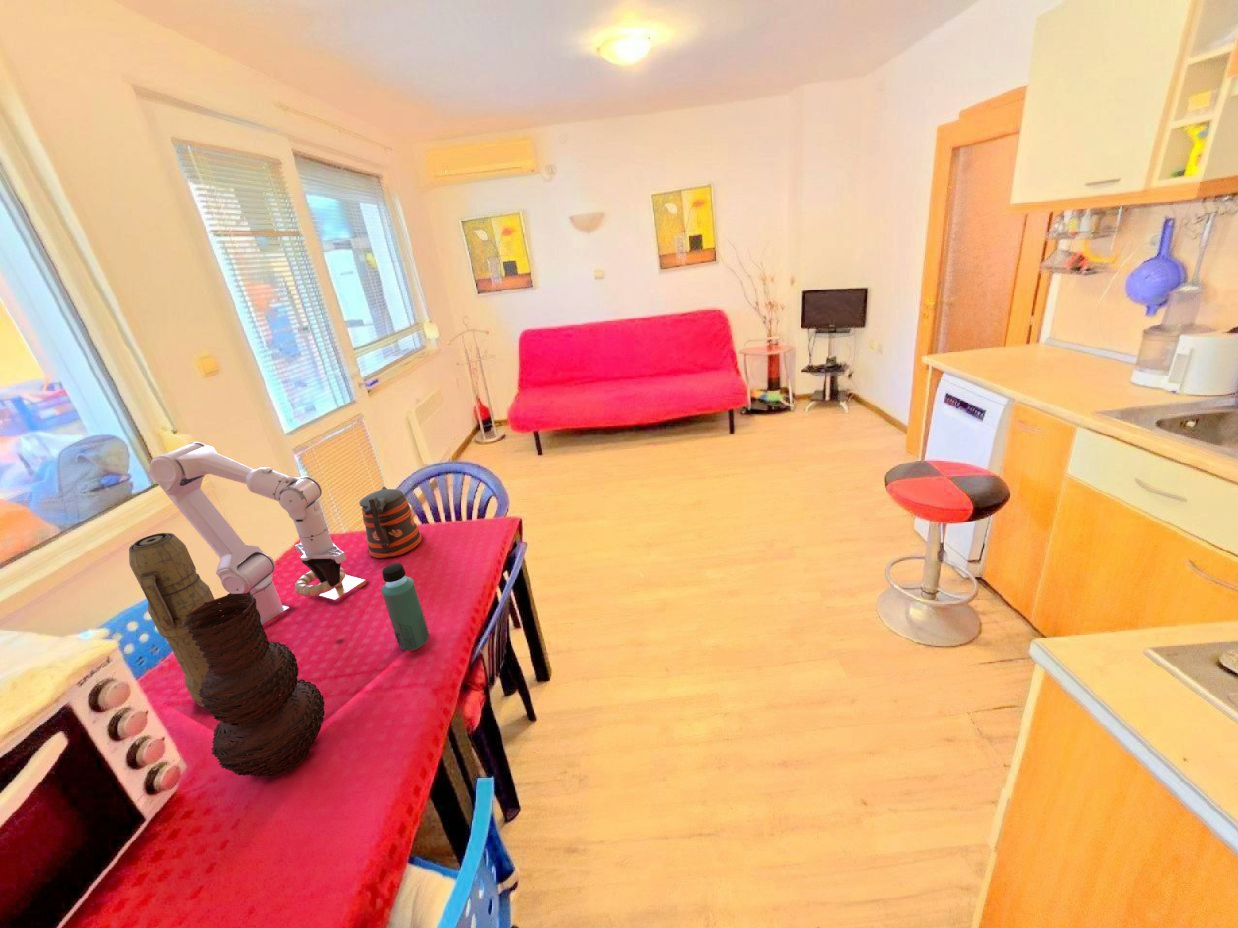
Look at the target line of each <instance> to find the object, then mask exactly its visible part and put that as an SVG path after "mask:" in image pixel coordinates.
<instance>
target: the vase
mask: <svg viewBox="0 0 1238 928" xmlns="http://www.w3.org/2000/svg"><path fill="white" fill-rule="evenodd" d="M214 599H215V600H212V601H209V602H205V603H204V604H203V605H202V606H200V607H199V608H197V609H196V610H194V611H193V612H191V613H190V614H188V615H185V617H186V618H185V620H184V622H183V624H182V626H180V627H181V628H184V629H187V630H189V631H188V633H190V634H191V633H192V634H193V636H192V637H191V638H192V640H195V641H196V644H195V645H196V646H199V647H200V649H199V650H200V651H201V652H204V654H203V655H202V657H203V658H206V659H207V661H206V663H207V664H209V667H208V669H209V670H208V672H207V673H206V675H205V676H206V677H205V679H204V680H203V682H202V683H201V687H202V688H201V689H200V690H199V692H200V693H198V694H199V695H200V697H202V701H201V702H202V704H204V706H203V707H202V708H203V709H204V710H205V711H207V712H209V714H210V715H211V716H212V717H213V720H216V721H219V722H218V723H217V724H216V726H215V728H214V729H213V738H212V747H211V751H212V752H211V754H212V756H214V757H215V758H216V760H218V765H220V768H222V769H225V770H228V771H230V772H232V773H234V774H236V776H240V777H241V776H243V777H247V776H250V777H256V778H257V777H264V778H268V779H269V780H270V779H274V778H276V777H278V776H282V775H283V774H286V773H290V772H291V771H293V769H294V768H296V767H297V766H298V765H300V763H302V762H303V760H306V759H307V757H308V756H309V753H310V751H311V749H312V746H313V744H314V742H315V740H317V738H318V737H319V733H320V731H321V728H322V726H323V725H322V724H323V722H324V719H325V718H324V716H325V704H326V703H325V698H324V695H322V693H321V691H320V690H319V688H317V685H316V684H313V683H312V682H311V681H309V680H305V679H298V676H299V667H298V663H297V662H298V660H297V657H296V655H295V654H294V653H293V651H292V650H291V649H290V648H289V646H288V645H286V644H284V643H281V642H278V641H277V642H276V641H269V638H268V635H267V633H266V631H265V630H264V624H261V622H260V620H261V617H260V614H259V611H258V610H257V609H256V606H257V605H256V599H255V597H253V595H251V593H250V592H247V593H237V594H231V593H229V592H228V593H227V594H226V595H223V596H221V597H218V598H214ZM244 606H245V607H244ZM258 614H259V615H258ZM193 615H194V616H193ZM201 621H202V622H201ZM197 622H198V623H197ZM191 624H192V625H191ZM188 625H189V626H188ZM209 625H210V626H209ZM186 626H187V628H186ZM204 626H205V627H204ZM203 627H204V628H203ZM199 628H200V629H199ZM196 629H197V630H196ZM211 670H212V671H211ZM209 673H210V674H209Z"/></svg>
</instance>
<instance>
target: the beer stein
mask: <svg viewBox="0 0 1238 928" xmlns="http://www.w3.org/2000/svg"><path fill="white" fill-rule="evenodd" d="M359 506H360V507H361V513H362V520H363V525H364V526H365V533H366V545H367V548H368V553H369V555H370V556H371V557H373V558H376V559H388V558H395V557H397V556H398V557H399V556H402V555H405V554H406V553H408V552H411V551H413V550H414V549H416V548H417V547H418V546H419V545H420V543H421V542H422V535H421V532H420V529H419V527H418V525H417V523H416V522H415V520H414V517H413V514H412V509H411V507H410V504H409V502H408V498H407V497H406V496H405V494H404V493H403V491H401V490H400V489H394V488H387V487H386V486H383V487H382V488H381V489H380V490H377V491H374V492H372V493H370V494H367V495H366V496H364V497H362V498H361V499H360V500H359Z"/></svg>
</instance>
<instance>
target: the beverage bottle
mask: <svg viewBox="0 0 1238 928" xmlns="http://www.w3.org/2000/svg"><path fill="white" fill-rule="evenodd" d="M381 574H382V580H383V581H384V582H385V584H384V585H383V586H382V588H381V595H382V597H383V600H384V603H385V606H386V611H387V614H388V617H389V621H390V622H389V623H390V624H391V627H392V631H393V633H394V636H395V637H394V638H395V639H396V644H397V645H398V647H399V648H400V649H401V650H402V651H406V652H407V651H408V652H409V651H414V650H417V649H418V650H419V649H420V648H421V647H423V646H425V644H426V643H428V641H429V638H430V632H429V627H428V624H427V620H426V616H425V613H424V609H423V606H422V603H421V601H420V597H419V595H418V591H417V588H416V585H415V581H414V579H413V578H412V577H410V576H407V575H406V570H405V568H404V566H403V564H402V563H400V562H394V563H393V562H392V563H390V564H388V565H386V566H384V568H383V569H382V570H381Z"/></svg>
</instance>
